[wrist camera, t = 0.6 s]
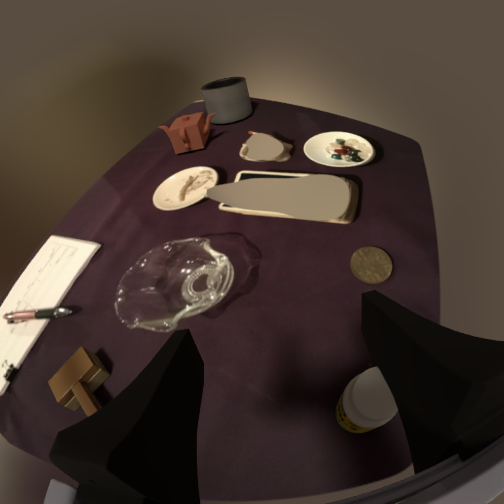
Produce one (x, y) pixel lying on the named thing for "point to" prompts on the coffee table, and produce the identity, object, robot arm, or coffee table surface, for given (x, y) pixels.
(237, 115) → the planter
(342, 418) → the supplement bottle
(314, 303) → the coffee table surface
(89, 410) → the brown t-shaped piece
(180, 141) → the teapot
